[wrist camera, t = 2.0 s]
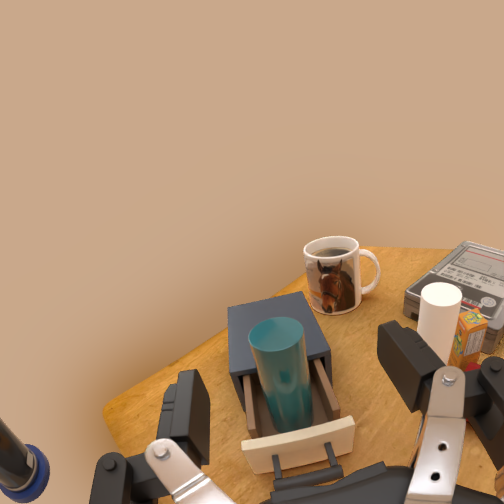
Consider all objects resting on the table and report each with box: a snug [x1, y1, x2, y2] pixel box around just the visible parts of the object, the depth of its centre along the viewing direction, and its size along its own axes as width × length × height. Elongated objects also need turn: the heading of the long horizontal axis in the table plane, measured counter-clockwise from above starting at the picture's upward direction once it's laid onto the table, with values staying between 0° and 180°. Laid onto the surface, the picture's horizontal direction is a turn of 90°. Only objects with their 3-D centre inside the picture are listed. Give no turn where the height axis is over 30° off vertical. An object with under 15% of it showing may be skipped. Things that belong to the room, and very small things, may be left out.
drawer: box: [241, 358, 355, 491], centre depth 27 cm, size 18×10×6 cm, turn 5°
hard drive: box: [403, 241, 504, 354], centre depth 41 cm, size 18×27×4 cm
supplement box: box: [447, 308, 488, 372], centre depth 27 cm, size 3×3×10 cm
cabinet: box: [228, 291, 333, 412], centre depth 39 cm, size 15×12×8 cm
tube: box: [417, 282, 462, 366], centre depth 26 cm, size 4×4×15 cm
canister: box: [248, 317, 314, 434], centre depth 27 cm, size 5×5×13 cm
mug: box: [303, 236, 380, 315], centre depth 51 cm, size 10×12×11 cm
